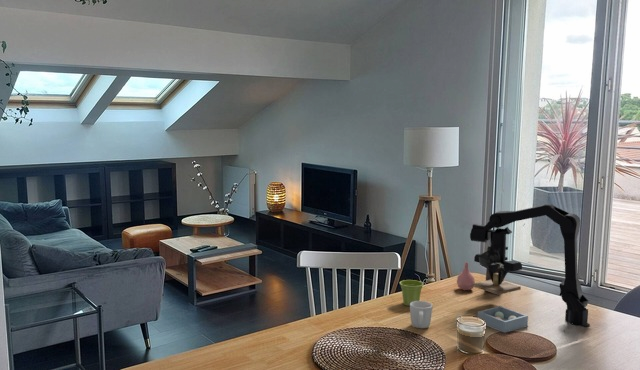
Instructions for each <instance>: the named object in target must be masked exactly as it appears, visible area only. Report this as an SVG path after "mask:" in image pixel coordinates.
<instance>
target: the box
mask: <svg viewBox="0 0 640 370" xmlns="http://www.w3.org/2000/svg"><path fill="white" fill-rule="evenodd" d="M496 312H502V313H503V314H504V319H503V320H501V319H498V318H496V317H495V313H496ZM510 316H515V317H517V318H514V319H510V320H508V318H509V317H510ZM478 317H479V318H481V319H483V320H485V322H486V325H485V326H487V327H490V328H492V329H494V330H497V331H500V332H502V333H509V332H511V331H516V330H519V329H522V328H525V327H528V321H529V315H527V314H524V313H521V312H518V311H516V310H514V309H513V310H512V309H510V308H508V307H504V306H502V305H499V306H495V307H491V308H487V309H484V310H479V311H477V318H478Z"/></svg>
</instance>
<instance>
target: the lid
mask: <svg viewBox="0 0 640 370" xmlns="http://www.w3.org/2000/svg"><path fill="white" fill-rule="evenodd" d="M473 288H477V289H479V290H483V291H486V292H489V293H491V294H495V295H498V296H499V295H504V294H507V293H508V294H509V293H513V292H516V291H520V290H522V289H521V288H522V287H521V286H520V285H517V284H514V283H511V282H510V283H509V282H507V281H503V282H502V283H501V284H500V285H499V284H498V273H493V282H492V280H487V281H486V280H483V281H478V282H477V281H476V282H475V283H473Z"/></svg>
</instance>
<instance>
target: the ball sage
mask: <svg viewBox="0 0 640 370" xmlns="http://www.w3.org/2000/svg"><path fill="white" fill-rule="evenodd" d="M495 317H500V318H501V319H502V320H503V319H504V314H503V313H502V312H496V313H495Z"/></svg>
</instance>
